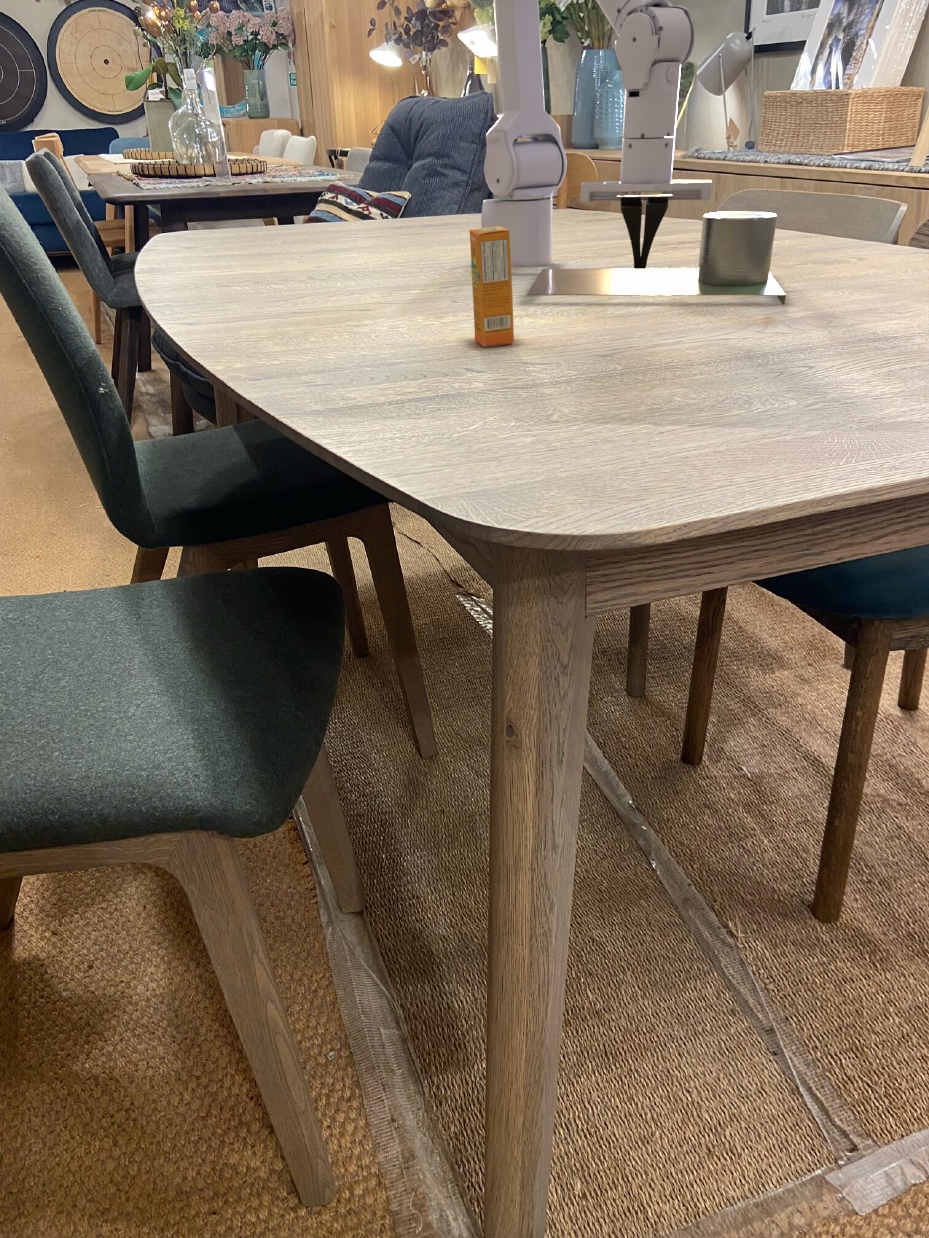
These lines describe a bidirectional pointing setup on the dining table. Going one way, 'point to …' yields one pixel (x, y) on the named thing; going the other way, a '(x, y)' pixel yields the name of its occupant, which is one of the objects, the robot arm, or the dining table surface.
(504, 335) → the supplement box
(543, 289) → the board
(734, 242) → the grey metal cylinder
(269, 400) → the dining table surface
